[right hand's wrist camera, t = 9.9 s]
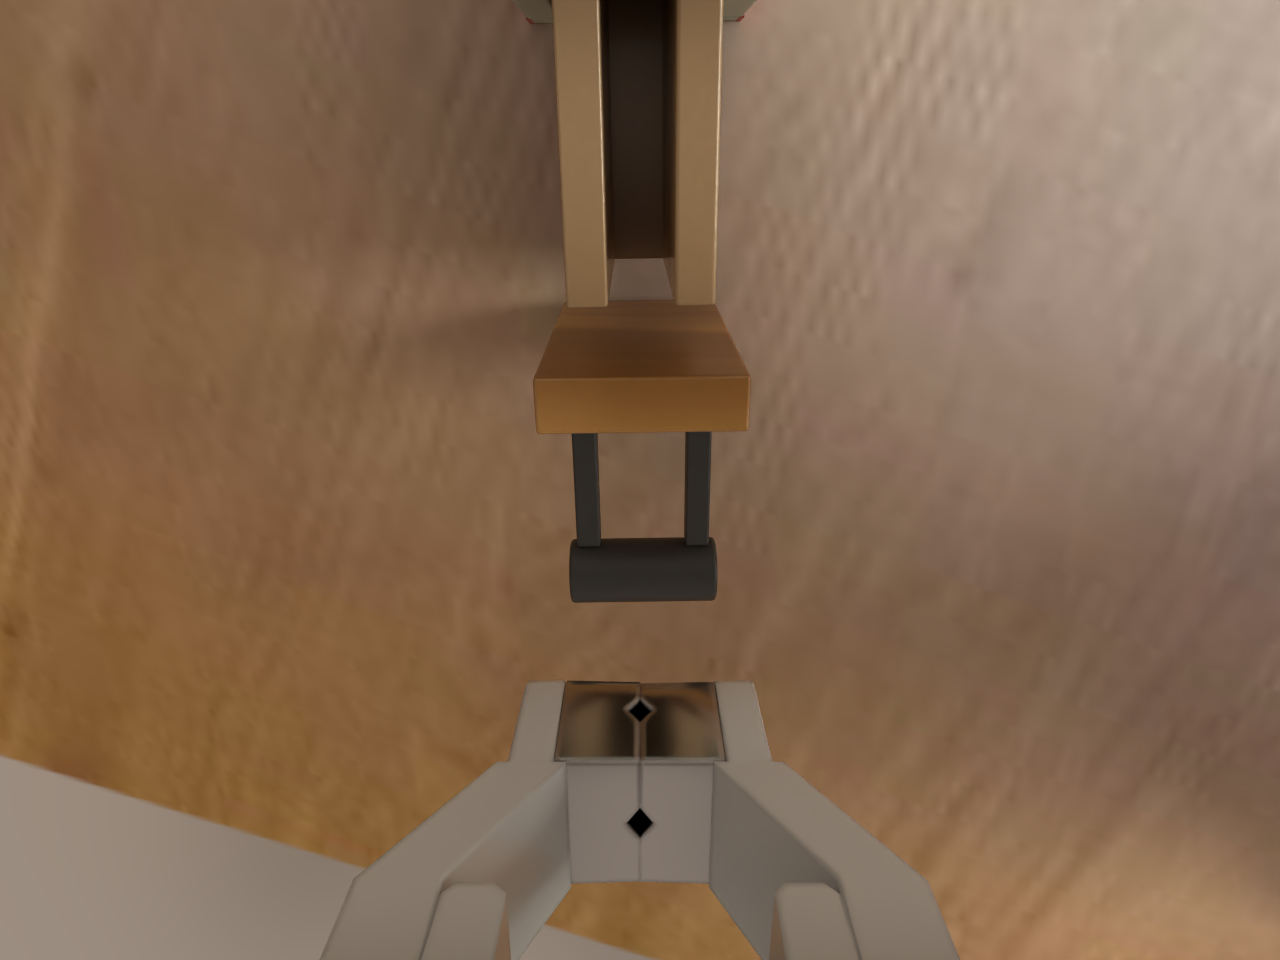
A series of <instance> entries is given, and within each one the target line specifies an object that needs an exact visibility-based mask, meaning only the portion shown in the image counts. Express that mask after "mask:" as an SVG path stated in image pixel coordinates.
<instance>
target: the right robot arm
mask: <svg viewBox="0 0 1280 960" xmlns="http://www.w3.org/2000/svg"><path fill="white" fill-rule="evenodd" d="M637 881H641V882H676V883H709V887H710V889H711V890H712V892H713V893H714V894H715V896H716V897H717V899H718V900H719V901H720V903H721V904H722V905H723V907H724V908H725V910H726V911H727V912H728V914H729V915H730V916H731V918H732V919H733V921H734V922H735V923H736V925H737V926H738V928H739V929H740V930H741V932H742V933H743V934H744V936H745V937H746V939H747V940H748V941H749V943H750V944H751V945H752V947H753V948H754V950H755V951H756V952H757V954H758V955H759V956H760V958H761V959H762V960H960V958H959V955H958V953H957V951H956V948H955V946H954V943H953V941H952V939H951V936H950V934H949V931H948V929H947V926H946V924H945V922H944V919H943V917H942V914H941V912H940V909H939V907H938V905H937V902H936V900H935V897H934V895H933V893H932V890H931V888H930V885H929V883H928V880H926V879H925V878H924V877H923V876H922V875H920V874H919V873H918V872H917V871H915V870H914V869H913V868H912V867H911V866H909V865H908V864H907V863H906V862H905V861H903V860H902V859H901V858H900V857H898V856H897V855H896V854H895V853H894V852H892V851H891V850H890V849H889V848H888V847H886V846H885V845H884V844H883V843H881V842H880V841H879V840H878V839H877V838H875V837H874V836H873V835H872V834H871V833H869V832H868V831H867V830H866V829H864V828H863V827H862V826H861V825H860V824H858V823H857V822H856V821H855V820H854V819H852V818H851V817H850V816H849V815H847V814H846V813H845V812H844V811H843V810H841V809H840V808H839V807H838V806H837V805H835V804H834V803H833V802H832V801H830V800H829V799H828V798H827V797H826V796H824V795H823V794H822V793H821V792H820V791H818V790H817V789H816V788H815V787H813V786H812V785H811V784H810V783H809V782H807V781H806V780H805V779H804V778H803V777H801V776H800V775H799V774H798V773H796V772H795V771H794V770H793V769H792V768H790V767H789V766H788V765H787V764H786V763H784V762H772V758H771V754H770V750H769V746H768V741H767V737H766V733H765V729H764V724H763V720H762V716H761V711H760V707H759V703H758V699H757V694H756V690H755V686H754V683H753V682H752V681H751V680H739V681H714V682H692V683H640V682H602V681H567V682H565V681H529V682H528V683H527V685H526V686H525V689H524V693H523V698H522V702H521V706H520V711H519V715H518V719H517V724H516V728H515V732H514V737H513V741H512V745H511V750H510V754H509V758H508V762H496V763H495V764H493V765H492V766H491V767H490V768H488V769H487V770H486V771H485V772H484V773H482V774H481V775H480V776H479V777H477V778H476V779H475V780H474V781H473V782H471V783H470V784H469V785H468V786H466V787H465V788H464V789H463V790H462V791H460V792H459V793H458V794H457V795H455V796H454V797H453V798H452V799H451V800H449V801H448V802H447V803H446V804H445V805H443V806H442V807H441V808H440V809H438V810H437V811H436V812H435V813H434V814H432V815H431V816H430V817H429V818H427V819H426V820H425V821H424V822H423V823H421V824H420V825H419V826H418V827H416V828H415V829H414V830H413V831H412V832H410V833H409V834H408V835H407V836H405V837H404V838H403V839H402V840H401V841H399V842H398V843H397V844H396V845H394V846H393V847H392V848H391V849H390V850H388V851H387V852H386V853H385V854H383V855H382V856H381V857H380V858H379V859H377V860H376V861H375V862H374V863H373V864H371V865H370V866H369V867H368V868H366V869H365V870H364V871H363V872H362V873H360V874H359V875H358V876H357V877H355V878H354V879H353V881H352V884H351V886H350V889H349V891H348V893H347V896H346V898H345V901H344V903H343V905H342V908H341V910H340V912H339V915H338V917H337V920H336V922H335V924H334V927H333V929H332V932H331V934H330V936H329V939H328V941H327V944H326V946H325V948H324V951H323V953H322V955H321V958H320V960H519V958H520V957H521V956H522V954H523V953H524V952H525V950H526V949H527V947H528V946H529V945H530V943H531V942H532V941H533V939H534V938H535V936H536V935H537V934H538V932H539V931H540V930H541V928H542V927H543V925H544V924H545V923H546V921H547V920H548V919H549V917H550V916H551V914H552V913H553V912H554V910H555V909H556V908H557V906H558V905H559V904H560V902H561V901H562V899H563V898H564V897H565V895H566V894H567V893H568V891H569V890H570V888H571V883H603V882H637Z"/></svg>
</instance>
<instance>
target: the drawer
mask: <svg viewBox="0 0 1280 960" xmlns="http://www.w3.org/2000/svg"><path fill="white" fill-rule="evenodd" d="M723 5H724V0H552V19H553V39H554V60H555V80H556V100H557V121H558V141H559V161H560V182H561V202H562V222H563V243H564V263H565V284H566V302H565V303H564V305H563V308H562V310H561V313H560V315H559V318H558V320H557V322H556V325H555V327H554V330H553V332H552V335H551V337H550V340H549V342H548V345H547V347H546V350H545V352H544V355H543V357H542V360H541V362H540V365H539V367H538V369H537V372H536V374H535V377H534V379H533V390H534V405H535V419H536V431H537V433H539V434H572V449H573V469H574V489H575V509H576V529H577V539H574V540H572V542H571V546H570V559H569V579H570V594H571V599H572V601H573V602H575V603H579V602H645V601H711V600H714V599H715V597H716V593H717V555H716V546H715V541H714V539H713V538H711V537H709V505H710V468H711V432H712V431H747V430H748V428H749V412H750V390H751V377H750V374H749V372H748V370H747V368H746V366H745V364H744V362H743V360H742V358H741V356H740V354H739V352H738V350H737V348H736V346H735V344H734V342H733V340H732V338H731V336H730V334H729V332H728V330H727V328H726V326H725V324H724V322H723V320H722V318H721V316H720V314H719V312H718V310H717V308H716V306H715V301H716V264H717V227H718V190H719V153H720V116H721V79H722V42H723ZM635 258H663V259H664V263H665V267H666V271H667V275H668V278H669V282H670V286H671V290H672V294H673V298H674V300H660V301H608V299H609V292H610V285H611V278H612V271H613V264H614V259H635ZM642 432H685V512H684V537H681V538H614V539H601V520H600V492H599V464H598V436H597V433H642Z"/></svg>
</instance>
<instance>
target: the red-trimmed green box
mask: <svg viewBox="0 0 1280 960" xmlns="http://www.w3.org/2000/svg"><path fill="white" fill-rule="evenodd" d="M756 1H757V0H724V5H723V21H730V20H736V21H741V20H742V19H743V17H744V14H745V13H746V11H747V10H748V9H749V8H750V7H751V6H752V5H753V4H754V3H755V2H756ZM512 2H513V3H514V4H515V5H516V6H517V7H518V8H519V9H520V11H521V12H522V13H523V14H524V15H525V16H526V19H527V21H528V22H529V23H530V24H534V23H553V19H552V0H512Z"/></svg>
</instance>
